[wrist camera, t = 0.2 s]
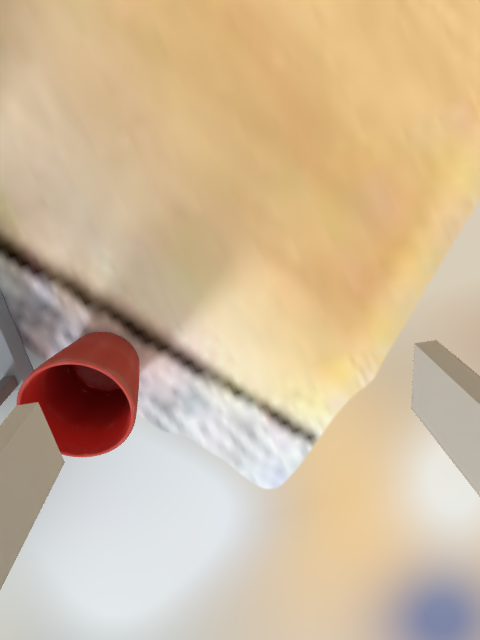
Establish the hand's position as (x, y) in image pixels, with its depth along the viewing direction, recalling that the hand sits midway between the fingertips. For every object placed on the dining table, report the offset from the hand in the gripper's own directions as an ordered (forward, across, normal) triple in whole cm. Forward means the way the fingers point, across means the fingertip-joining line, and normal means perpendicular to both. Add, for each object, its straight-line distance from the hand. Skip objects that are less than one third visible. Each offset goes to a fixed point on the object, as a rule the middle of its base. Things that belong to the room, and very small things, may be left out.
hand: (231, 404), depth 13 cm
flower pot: (+28, -16, -11) cm, 34 cm away
